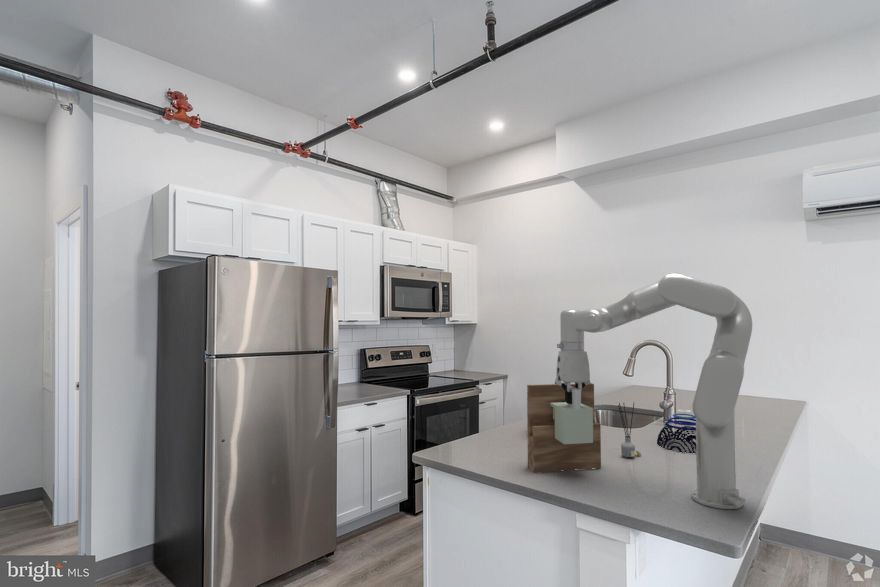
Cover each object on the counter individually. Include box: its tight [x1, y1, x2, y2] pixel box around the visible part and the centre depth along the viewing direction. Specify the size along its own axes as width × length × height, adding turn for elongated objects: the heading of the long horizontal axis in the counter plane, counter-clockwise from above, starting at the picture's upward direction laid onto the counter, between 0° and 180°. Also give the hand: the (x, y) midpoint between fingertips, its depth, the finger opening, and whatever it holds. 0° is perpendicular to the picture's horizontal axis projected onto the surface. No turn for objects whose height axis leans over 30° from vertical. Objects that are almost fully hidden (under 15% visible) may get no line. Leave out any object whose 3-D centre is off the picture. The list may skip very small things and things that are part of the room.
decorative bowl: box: [656, 408, 696, 454], centre depth 189 cm, size 20×20×14 cm
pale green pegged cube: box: [550, 387, 593, 444], centre depth 158 cm, size 10×10×17 cm
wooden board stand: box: [526, 382, 602, 474], centre depth 163 cm, size 6×24×28 cm, turn 101°
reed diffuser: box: [617, 402, 642, 458], centre depth 176 cm, size 10×7×20 cm
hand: (572, 402), depth 156 cm, fingers closed on pale green pegged cube
